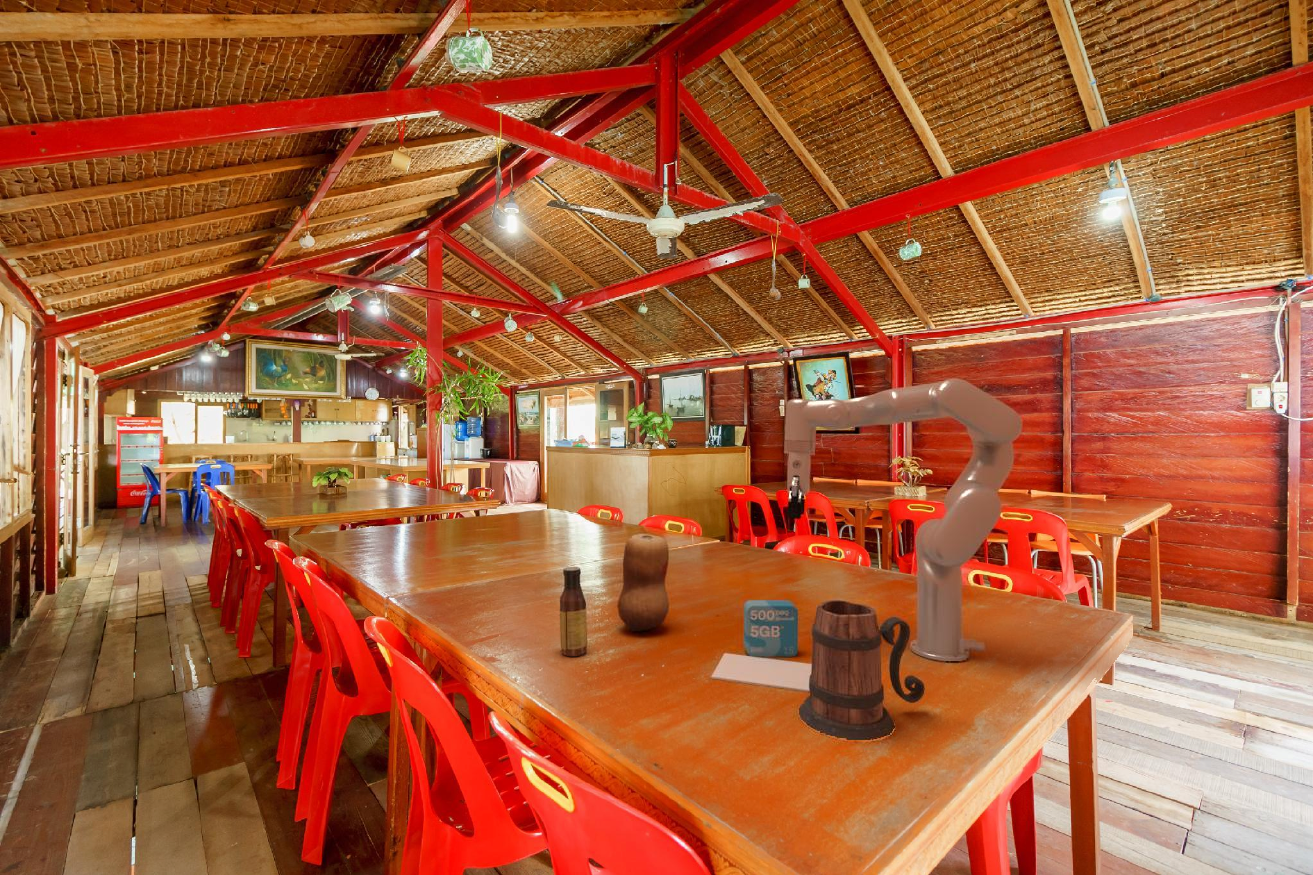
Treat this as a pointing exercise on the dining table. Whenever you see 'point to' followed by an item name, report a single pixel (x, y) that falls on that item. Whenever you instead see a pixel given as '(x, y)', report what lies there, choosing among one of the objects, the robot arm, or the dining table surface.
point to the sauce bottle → (573, 614)
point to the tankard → (853, 672)
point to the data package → (770, 628)
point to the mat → (764, 672)
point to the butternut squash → (644, 582)
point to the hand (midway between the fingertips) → (795, 516)
